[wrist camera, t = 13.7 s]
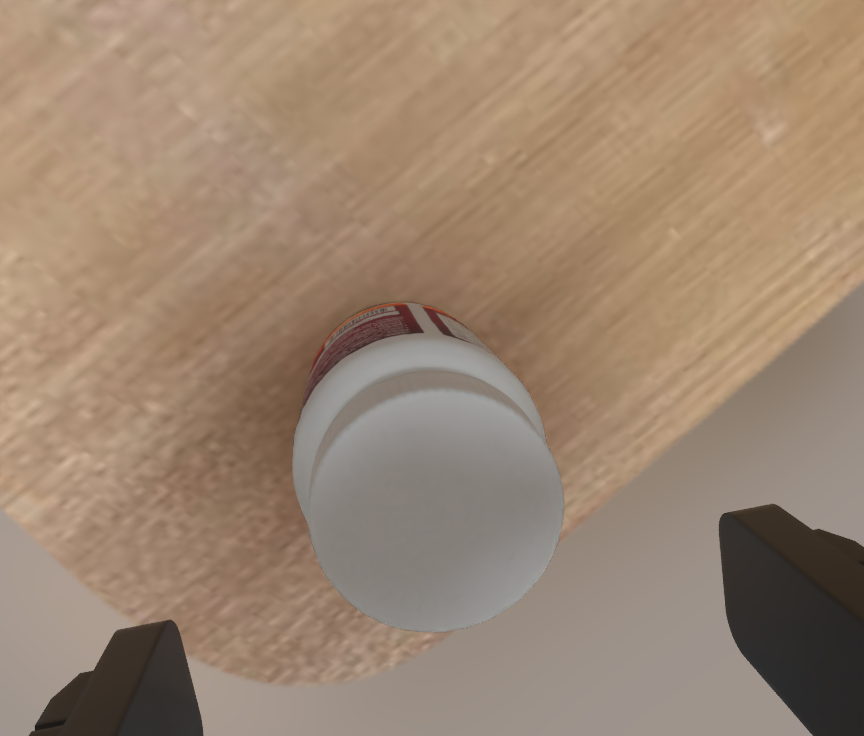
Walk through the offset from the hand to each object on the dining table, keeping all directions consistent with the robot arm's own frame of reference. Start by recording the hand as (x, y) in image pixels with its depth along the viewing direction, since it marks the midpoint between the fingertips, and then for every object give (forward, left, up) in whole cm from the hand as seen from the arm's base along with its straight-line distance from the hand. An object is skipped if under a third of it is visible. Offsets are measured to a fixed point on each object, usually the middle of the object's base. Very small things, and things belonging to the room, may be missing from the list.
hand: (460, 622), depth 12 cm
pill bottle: (0, 0, -16) cm, 16 cm away
